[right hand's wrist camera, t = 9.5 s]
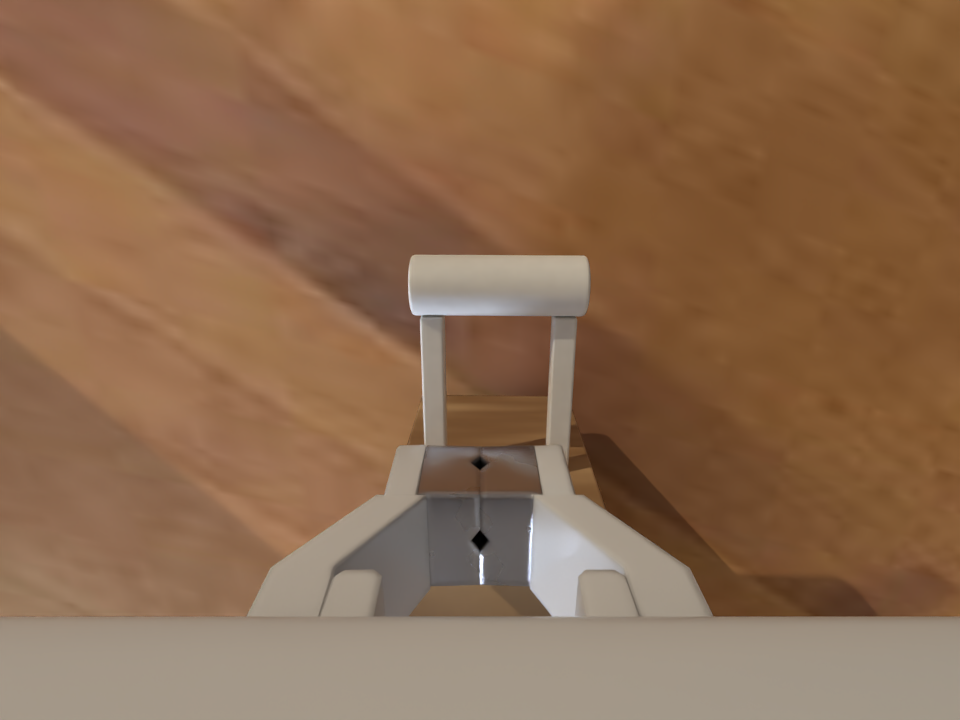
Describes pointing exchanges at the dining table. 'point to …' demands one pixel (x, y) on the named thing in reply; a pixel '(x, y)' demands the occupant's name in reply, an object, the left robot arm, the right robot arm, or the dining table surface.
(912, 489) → the dining table surface
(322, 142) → the dining table surface
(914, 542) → the dining table surface
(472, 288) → the drawer
